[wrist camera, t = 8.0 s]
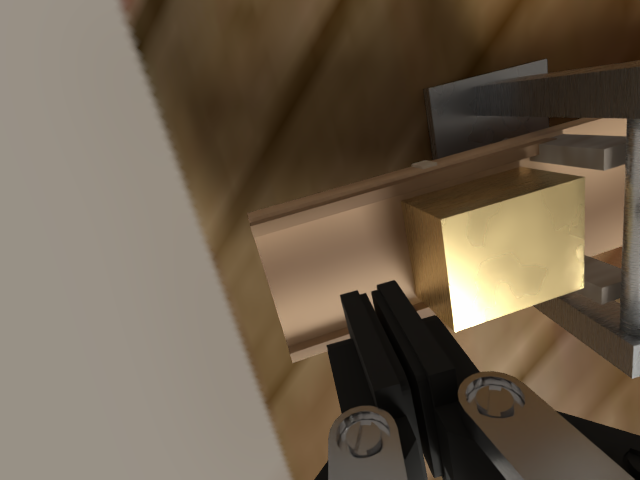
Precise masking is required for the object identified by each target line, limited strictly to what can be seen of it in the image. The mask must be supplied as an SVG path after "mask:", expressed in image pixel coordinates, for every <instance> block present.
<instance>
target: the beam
mask: <svg viewBox="0 0 640 480" xmlns="http://www.w3.org/2000/svg"><path fill="white" fill-rule="evenodd" d="M626 128H627V119H620V118H581V119H577V120H574V121H570V122H567V123H563V124H560V125H556V126H553V127H549V128H545V129H542V130H538V131H535V132H531V133H528V134H524V135H521V136H517V137H514V138H510V139H507V140H503V141H500V142H496V143H493V144H489V145H485V146H482V147H478V148H475V149H471V150H468V151H464V152H461V153H457V154H454V155H450V156H447V157H443V158H440V159H436V160H432V161H427V160H424V161H421V162H417V163H413V164H412V166H411V167H408V168H404V169H401V170H397V171H394V172H390V173H387V174H383V175H379V176H376V177H372V178H369V179H365V180H362V181H358V182H355V183H351V184H348V185H344V186H341V187H337V188H334V189H330V190H327V191H323V192H319V193H316V194H312V195H309V196H305V197H302V198H298V199H295V200H291V201H288V202H284V203H281V204H277V205H274V206H270V207H266V208H263V209H259V210H256V211H252V212H249V213H247V214H248V219H249V223H250V227H251V231H252V234H253V237H254V239H255V242H256V245H257V248H258V252H259V255H260V258H261V261H262V264H263V268H264V271H265V274H266V277H267V280H268V284H269V287H270V290H271V293H272V297H273V300H274V303H275V306H276V309H277V313H278V316H279V319H280V322H281V325H282V329H283V332H284V335H285V338H286V342H287V345H288V348H289V352H290V356H291V359H292V362H293V363H294V362H297V361H300V360H303V359H306V358H309V357H312V356H315V355H318V354H320V353H323V352H326V351H328V350H327V345H328V344H332V343H335V342H339V341H343V340H346V339H350V335H349V331H348V327H347V323H346V319H345V315H344V311H343V307H342V303H341V298H340V295H341V294H345V293H348V292H352V291H356V290H358V292H359V294H363V293H366V294H367V296H368V298H369V300H370V302H371V304H372V306H373V308H374V304H373V300H372V295H371V291H374V290H377V285H378V284H381V283H385V282H389V281H393V280H395V281H396V282H397V283H398V285H399V286H400V288H401V289H402V291H403V292H404V294H405V295H406V297H407V298H408V299H409V301H410V302H411V304H412V305H413V307H414V308H415V310H416V311H417V313H418V314H419V316H420V317H421V319H423V318H426V317H429V316H432V315H435V313H434V312H433V311H432V310H431V309H430V308H429V307H428V306H427V305H425V304H424V303H423V302H422V301H421V300H420V299H419V298H418V297H417V296H416V294H415V288H414V282H413V275H412V269H411V263H410V256H409V250H408V244H407V237H406V231H405V225H404V218H403V212H402V206H401V201H402V200H405V199H409V198H412V197H416V196H419V195H423V194H426V193H430V192H433V191H437V190H440V189H444V188H447V187H451V186H454V185H458V184H461V183H465V182H468V181H472V180H475V179H479V178H482V177H486V176H489V175H493V174H496V173H500V172H504V171H507V170H511V169H514V168H518V167H526V168H532V169H538V170H545V171H551V172H557V173H564V174H570V175H576V176H583V177H585V242H584V288H583V289H580V290H577V291H575V292H577V293H579V294H581V295H583V296H585V297H587V298H589V299H591V300H593V301H595V302H597V303H599V304H601V305H602V304H605V303H608V302H611V301H613V300H616V299H619V298H620V297H621V269H620V268H618V267H615V266H612V265H610V264H607V263H605V262H602V261H599V260H597V259H594V258H591V256H594V255H597V254H600V253H603V252H606V251H609V250H612V249H615V248H618V247H621V246H622V241H623V213H624V185H625V156H626ZM374 310H375V309H374Z"/></svg>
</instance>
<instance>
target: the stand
mask: <svg viewBox="0 0 640 480" xmlns="http://www.w3.org/2000/svg"><path fill="white" fill-rule="evenodd" d="M423 91H424V98H425V106H426V113H427V121H428V128H429V136H430V143H431V151H432V158H433V160H436V159H440V158H443V157H447V156H450V155H454V154H457V153H461V152H464V151H468V150H471V149H475V148H478V147H482V146H485V145H489V144H493V143H496V142H500V141H503V140H507V139H510V138H514V137H517V136H521V135H524V134H528V133H531V132H535V131H538V130H542V129H545V128H549V117H568V118H620V119H627V128H626V156H625V185H624V213H623V241H622V269H621V297H620V303H618V302H616V301H614V300H613V301H611V302H608V303H605V304H602V305H601V304H599V303H597V302H595V301H593V300H591V299H589V298H587V297H585V296H583V295H581V294H579V293H577V292H575V291H574V292H571V293H568V294H565V295H562V296H559V297H556V298H553V299H550V300H547V301H544V302H542V303H539V304H536V305H533V306H534V307H535V308H537V309H538V310H539V311H541V312H542V313H543V314H545V315H546V316H547V317H549V318H550V319H552V320H553V321H554V322H556V323H557V324H558V325H560V326H561V327H562V328H564V329H565V330H567V331H568V332H569V333H571V334H572V335H573V336H575V337H576V338H577V339H579V340H580V341H582V342H583V343H584V344H586V345H587V346H588V347H590V348H591V349H592V350H594V351H595V352H597V353H598V354H599V355H601V356H602V357H603V358H605V359H606V360H607V361H609V362H610V363H612V364H613V365H614V366H616V367H617V368H618V369H620V370H621V371H623V372H624V373H625V374H627V375H628V376H629V377H631V378H636V377H639V376H640V60H638V61H631V62H624V63H617V64H609V65H602V66H595V67H588V68H580V69H573V70H566V71H559V72H552V73H548V72H547V59H543V60H538V61H534V62H530V63H526V64H522V65H518V66H514V67H510V68H506V69H502V70H498V71H494V72H490V73H486V74H482V75H478V76H474V77H470V78H466V79H462V80H458V81H454V82H450V83H446V84H442V85H438V86H434V87H430V88H426V89H423Z"/></svg>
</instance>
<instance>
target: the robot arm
mask: <svg viewBox="0 0 640 480" xmlns="http://www.w3.org/2000/svg"><path fill="white" fill-rule="evenodd" d="M371 295H372V300H373V304H374V308H373V306H372V304H371V302H370V300H369V298H368V296H367V294H366V293H363V294H359V292H358V290H356V291H352V292H348V293H345V294H341V295H340V298H341V303H342V307H343V311H344V315H345V319H346V323H347V327H348V331H349V335H350V339H346V340H343V341H339V342H335V343H332V344H328V345H327V350H328V355H329V359H330V364H331V368H332V372H333V377H334V381H335V386H336V390H337V395H338V399H339V404H340V408H341V413H342V414H341V415H340V416H339V417H338V418H337V419H336V420H335V421H334V423H333V425H332V427H331V429H330V433H329V438H328V461H327V463H326V464H325V466H324V467H323V468H322V470H321V471H320V473H319V474H318V475H317V477H316V478H315V479H314V480H427V473H426V468H425V462H424V457H425V459H426V461H427V464H428V466H429V468H430V471H431V473H432V475H433V477H434V478H436V477H439V476H442V478H443V480H640V436H639V435H636V434H632V433H629V432H626V431H622V430H619V429H616V428H612V427H609V426H605V425H602V424H599V423H595V422H592V421H589V420H585V419H582V418H579V417H575V416H572V415H568V414H565V413H562V412H558V411H555V410H554V409H553V408H552V407H551V406H549V405H548V404H547V403H546V402H545V401H544V400H543V399H541V398H540V397H539V396H538V395H537V394H536V393H534V392H533V391H532V390H531V389H530V388H529V387H527V386H526V385H525V384H524V383H523V382H521V381H520V380H518V379H517V378H515V377H513V376H510V375H507V374H505V373H500V372H494V371H490V372H479V370H478V369H477V368H476V366H475V365H474V364H473V362H472V361H471V360H470V358H469V357H468V356H467V354H466V353H465V352H464V351H463V349H462V348H461V347H460V345H459V344H458V343H457V341H456V340H455V339H454V337H453V336H452V335H451V333H450V332H449V331H448V329H447V328H446V327H445V326H444V324H443V323H442V322H441V320H440V319H439V318H438V317H437V316H435V315H434V316H430V317H426V318H423V319H421V317H420V316H419V314H418V313H417V311H416V310H415V308H414V307H413V305H412V304H411V302H410V301H409V299H408V298H407V297H406V295H405V294H404V292H403V291H402V289H401V288H400V286H399V285H398V283H397V282H396V281H395V280H393V281H389V282H385V283H381V284H378V285H377V290H374V291H371ZM374 309H375V310H374ZM423 454H424V457H423Z"/></svg>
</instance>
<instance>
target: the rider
mask: <svg viewBox="0 0 640 480" xmlns="http://www.w3.org/2000/svg"><path fill="white" fill-rule="evenodd" d="M401 206H402V212H403V218H404V225H405V231H406V237H407V244H408V250H409V256H410V263H411V269H412V275H413V282H414V288H415V294H416V296H417V297H418V298H419V299H420V300H421V301H422V302H423V303H424V304H425V305H427V306H428V307H429V308H430V309H431V310H432V311H433V312H434V313H435V314H436V315H437V316H438V317H439V318H440V319H441V320H442V321H444V322H445V323H446V324H447V325H448V326H449V327H450V328H451V329H452V330H453V331H454V332H457V331H459V330H462V329H465V328H468V327H471V326H474V325H477V324H480V323H483V322H486V321H489V320H492V319H495V318H498V317H500V316H503V315H506V314H509V313H512V312H515V311H518V310H521V309H524V308H527V307H530V306H533V305H536V304H539V303H542V302H544V301H547V300H550V299H553V298H556V297H559V296H562V295H565V294H568V293H571V292H574V291H577V290H580V289H583V288H584V242H585V177H583V176H576V175H570V174H564V173H557V172H551V171H545V170H538V169H532V168H526V167H518V168H514V169H511V170H507V171H504V172H500V173H496V174H493V175H489V176H486V177H482V178H479V179H475V180H472V181H468V182H465V183H461V184H458V185H454V186H451V187H447V188H444V189H440V190H437V191H433V192H430V193H426V194H423V195H419V196H416V197H412V198H409V199H405V200H402V201H401Z"/></svg>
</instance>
